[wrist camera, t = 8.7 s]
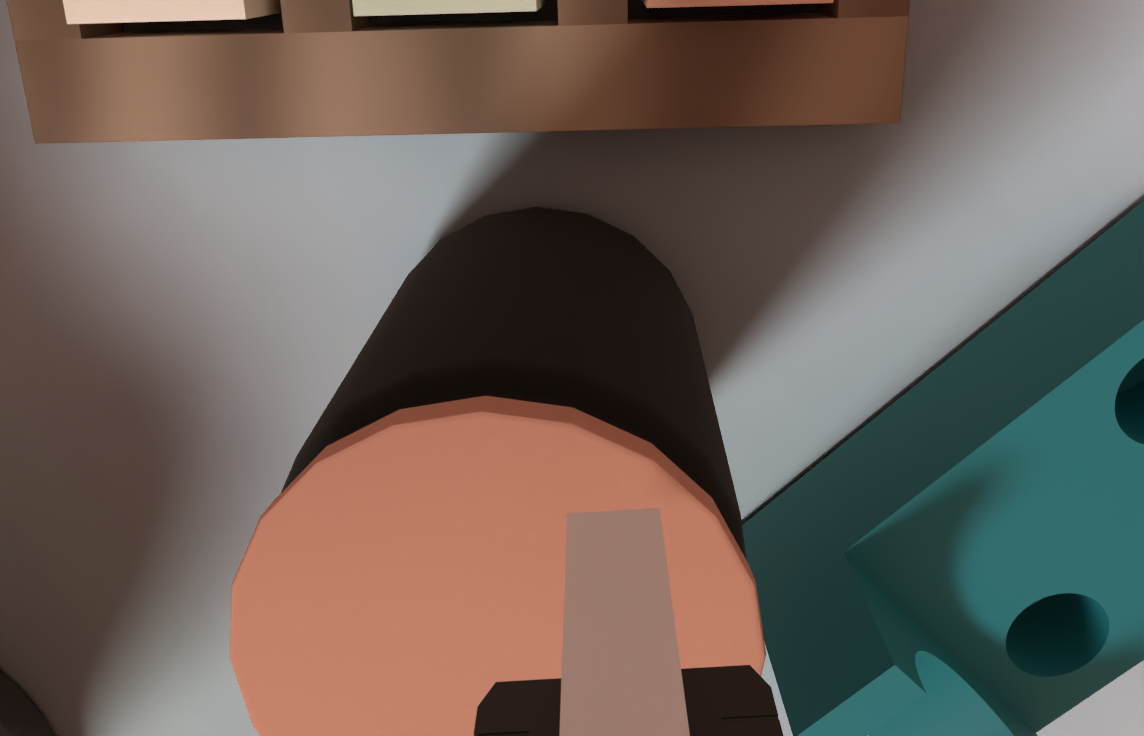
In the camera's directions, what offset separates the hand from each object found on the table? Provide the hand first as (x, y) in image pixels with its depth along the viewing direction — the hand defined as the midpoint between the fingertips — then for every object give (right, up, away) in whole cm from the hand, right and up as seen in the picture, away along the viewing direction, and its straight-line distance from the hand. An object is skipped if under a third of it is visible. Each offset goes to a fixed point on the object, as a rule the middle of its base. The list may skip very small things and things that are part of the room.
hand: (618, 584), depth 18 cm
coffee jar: (-2, +4, +20) cm, 21 cm away
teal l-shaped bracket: (+15, 0, +22) cm, 27 cm away
